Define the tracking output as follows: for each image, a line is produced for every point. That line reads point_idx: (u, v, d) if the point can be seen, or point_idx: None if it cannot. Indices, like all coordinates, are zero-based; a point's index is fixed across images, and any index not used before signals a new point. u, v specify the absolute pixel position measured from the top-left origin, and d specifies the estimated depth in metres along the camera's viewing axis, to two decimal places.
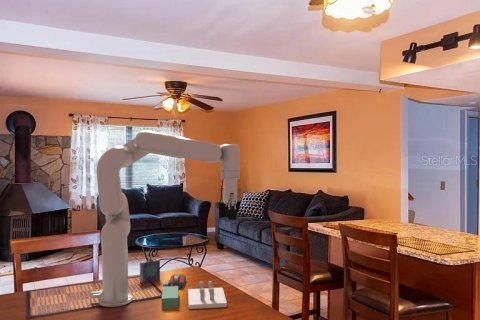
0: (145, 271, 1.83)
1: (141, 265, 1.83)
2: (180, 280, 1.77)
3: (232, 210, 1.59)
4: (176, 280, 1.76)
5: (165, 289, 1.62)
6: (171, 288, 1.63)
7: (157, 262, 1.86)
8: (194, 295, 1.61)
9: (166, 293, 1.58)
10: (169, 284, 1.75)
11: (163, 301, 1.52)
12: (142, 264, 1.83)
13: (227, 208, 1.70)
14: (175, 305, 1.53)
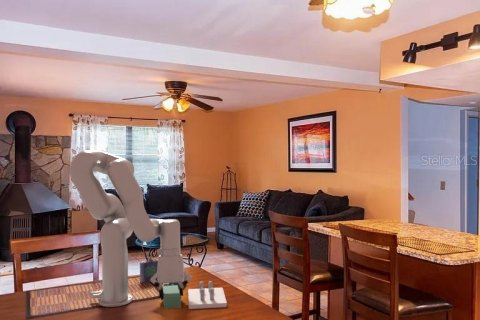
0: (145, 271, 1.83)
1: (141, 265, 1.83)
2: None
3: (183, 287, 1.60)
4: None
5: (165, 289, 1.62)
6: (171, 288, 1.63)
7: (157, 262, 1.86)
8: (194, 295, 1.61)
9: (167, 293, 1.57)
10: (170, 284, 1.75)
11: (166, 300, 1.52)
12: (142, 264, 1.83)
13: (162, 291, 1.58)
14: (178, 303, 1.53)
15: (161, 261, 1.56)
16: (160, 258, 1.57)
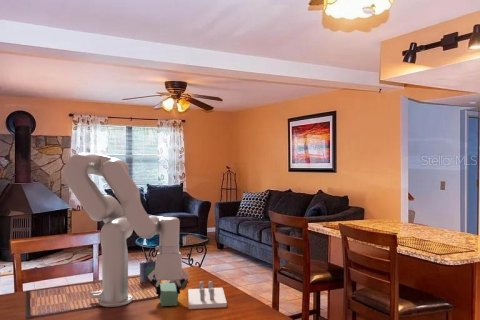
0: (145, 271, 1.83)
1: (141, 265, 1.83)
2: None
3: (180, 285, 1.60)
4: None
5: (162, 286, 1.62)
6: (168, 285, 1.63)
7: None
8: (194, 295, 1.61)
9: (164, 290, 1.57)
10: None
11: (163, 298, 1.52)
12: (142, 264, 1.83)
13: None
14: (174, 301, 1.53)
15: (159, 258, 1.56)
16: (158, 255, 1.57)
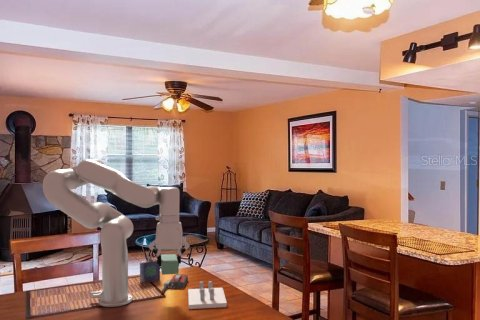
0: (145, 271, 1.83)
1: (141, 265, 1.83)
2: (181, 280, 1.78)
3: None
4: (177, 280, 1.76)
5: (163, 256, 1.62)
6: (169, 256, 1.63)
7: None
8: (194, 295, 1.61)
9: (165, 260, 1.57)
10: (170, 284, 1.76)
11: (164, 266, 1.52)
12: (142, 264, 1.83)
13: (160, 258, 1.58)
14: (175, 270, 1.53)
15: (160, 228, 1.56)
16: (159, 225, 1.56)
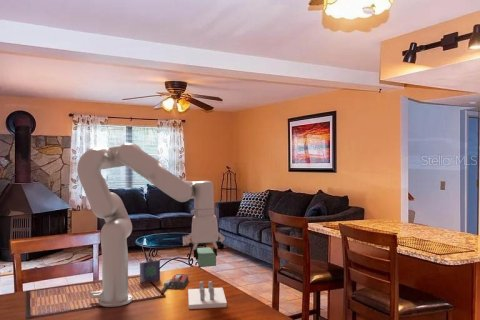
0: (145, 271, 1.83)
1: (141, 265, 1.83)
2: (181, 280, 1.78)
3: (216, 248, 1.62)
4: (177, 280, 1.77)
5: (199, 250, 1.64)
6: (204, 249, 1.65)
7: (157, 262, 1.86)
8: (194, 295, 1.61)
9: (201, 252, 1.59)
10: (170, 283, 1.76)
11: (202, 259, 1.54)
12: (142, 264, 1.83)
13: None
14: (213, 262, 1.55)
15: (196, 221, 1.58)
16: (195, 218, 1.58)
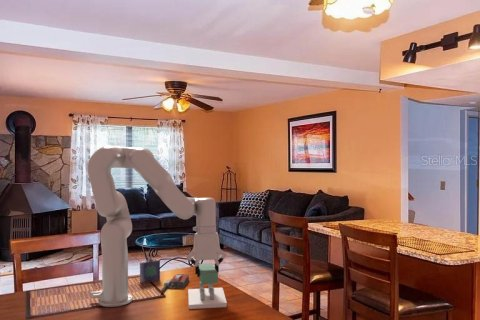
0: (145, 271, 1.83)
1: (141, 265, 1.83)
2: (181, 280, 1.78)
3: None
4: (177, 280, 1.77)
5: (200, 266, 1.64)
6: (206, 265, 1.65)
7: (157, 262, 1.86)
8: (194, 295, 1.61)
9: (203, 269, 1.59)
10: (170, 283, 1.76)
11: (203, 276, 1.54)
12: (142, 264, 1.83)
13: (198, 268, 1.60)
14: (215, 279, 1.55)
15: (198, 238, 1.58)
16: (196, 235, 1.58)
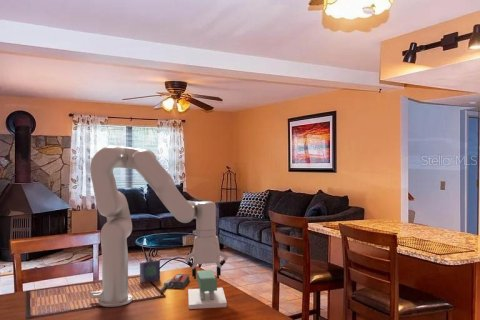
0: (145, 271, 1.83)
1: (141, 265, 1.83)
2: (181, 280, 1.78)
3: (220, 267, 1.62)
4: (177, 279, 1.77)
5: (200, 273, 1.64)
6: (206, 272, 1.65)
7: (157, 262, 1.86)
8: (194, 295, 1.61)
9: (203, 276, 1.59)
10: (170, 283, 1.76)
11: (202, 283, 1.54)
12: (142, 264, 1.83)
13: (195, 270, 1.60)
14: (214, 287, 1.55)
15: (197, 242, 1.58)
16: (196, 239, 1.58)
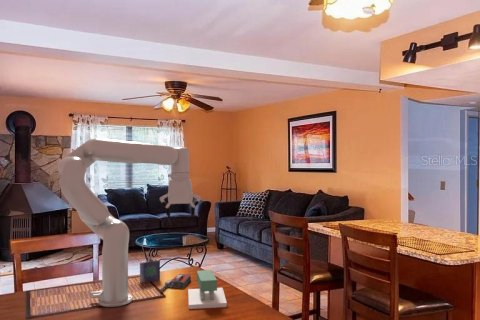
0: (145, 271, 1.83)
1: (141, 265, 1.83)
2: (182, 280, 1.78)
3: (194, 207, 1.75)
4: (177, 279, 1.77)
5: (200, 273, 1.64)
6: (206, 272, 1.65)
7: (157, 262, 1.86)
8: (194, 295, 1.61)
9: (203, 276, 1.59)
10: (170, 283, 1.77)
11: (202, 283, 1.54)
12: (142, 264, 1.83)
13: (169, 209, 1.73)
14: (214, 287, 1.55)
15: (172, 183, 1.72)
16: (171, 181, 1.72)
